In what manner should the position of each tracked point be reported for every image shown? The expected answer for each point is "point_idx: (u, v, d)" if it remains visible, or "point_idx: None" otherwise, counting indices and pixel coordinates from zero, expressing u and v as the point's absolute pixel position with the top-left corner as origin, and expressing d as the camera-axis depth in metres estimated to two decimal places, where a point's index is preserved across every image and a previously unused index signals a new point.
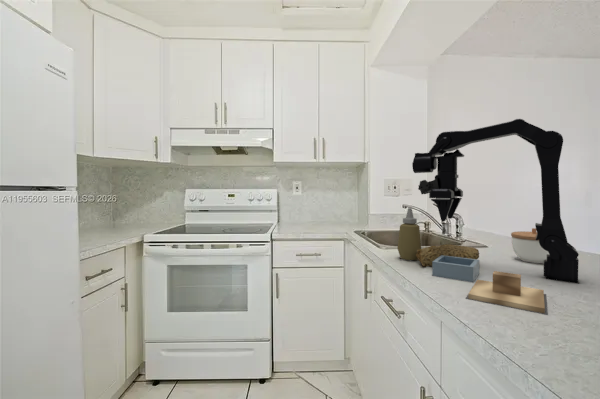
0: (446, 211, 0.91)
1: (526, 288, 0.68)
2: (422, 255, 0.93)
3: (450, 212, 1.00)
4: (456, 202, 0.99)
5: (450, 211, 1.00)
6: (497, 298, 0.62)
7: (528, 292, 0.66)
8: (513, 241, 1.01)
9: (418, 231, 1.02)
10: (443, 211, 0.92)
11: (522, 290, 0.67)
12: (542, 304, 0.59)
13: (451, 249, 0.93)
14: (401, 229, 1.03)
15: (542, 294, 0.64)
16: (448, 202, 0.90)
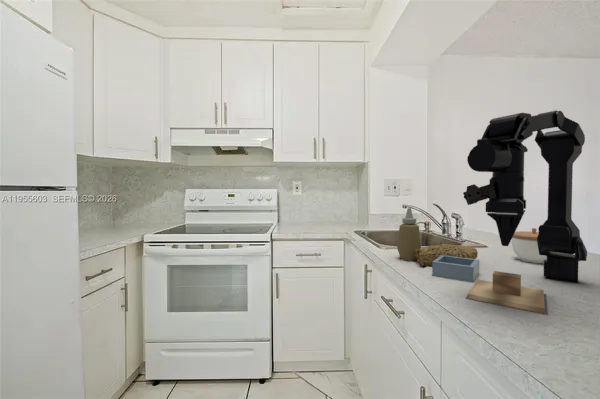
0: (511, 232, 0.61)
1: (526, 288, 0.68)
2: (421, 255, 0.93)
3: None
4: None
5: None
6: (497, 298, 0.62)
7: (528, 292, 0.66)
8: (513, 241, 1.01)
9: (418, 231, 1.02)
10: (506, 232, 0.61)
11: (522, 290, 0.67)
12: (542, 304, 0.59)
13: (450, 249, 0.94)
14: (401, 229, 1.03)
15: (542, 294, 0.64)
16: (515, 219, 0.59)
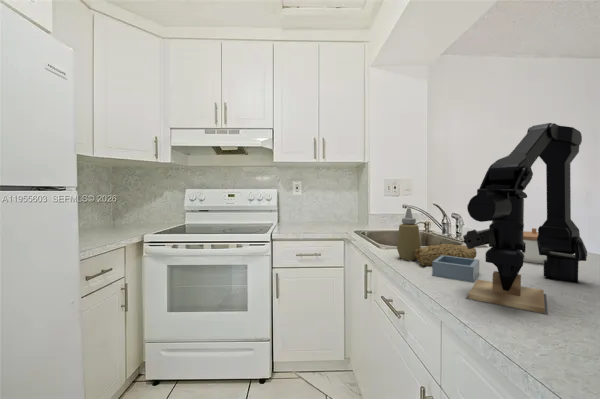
0: (512, 278, 0.63)
1: (526, 288, 0.68)
2: (421, 255, 0.93)
3: None
4: None
5: None
6: (497, 298, 0.62)
7: (528, 292, 0.66)
8: None
9: (417, 231, 1.02)
10: (507, 277, 0.64)
11: (522, 290, 0.67)
12: (542, 304, 0.59)
13: (450, 248, 0.94)
14: (400, 229, 1.03)
15: (542, 294, 0.64)
16: (516, 266, 0.62)
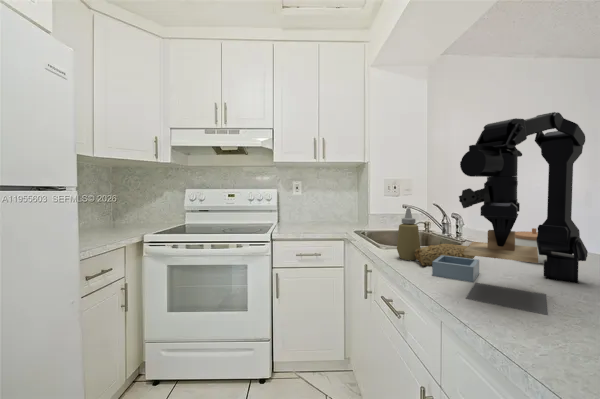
0: (506, 233, 0.65)
1: (520, 246, 0.70)
2: (422, 255, 0.93)
3: None
4: None
5: None
6: (492, 252, 0.64)
7: (522, 248, 0.67)
8: None
9: (417, 231, 1.02)
10: (501, 233, 0.65)
11: (516, 247, 0.68)
12: (536, 255, 0.60)
13: (449, 248, 0.94)
14: (400, 229, 1.04)
15: (536, 249, 0.66)
16: (510, 221, 0.63)
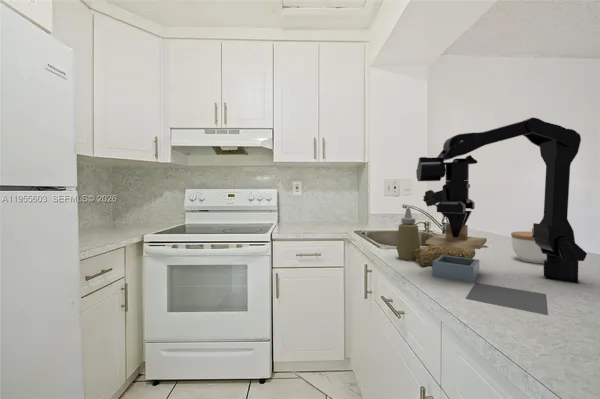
0: (459, 226, 0.80)
1: (473, 237, 0.85)
2: (422, 254, 0.94)
3: None
4: (465, 216, 0.83)
5: None
6: (446, 241, 0.79)
7: (473, 239, 0.82)
8: (513, 241, 1.01)
9: (417, 231, 1.02)
10: (455, 226, 0.80)
11: (469, 238, 0.84)
12: (479, 243, 0.76)
13: (449, 248, 0.94)
14: (400, 229, 1.04)
15: (483, 239, 0.81)
16: (461, 216, 0.79)
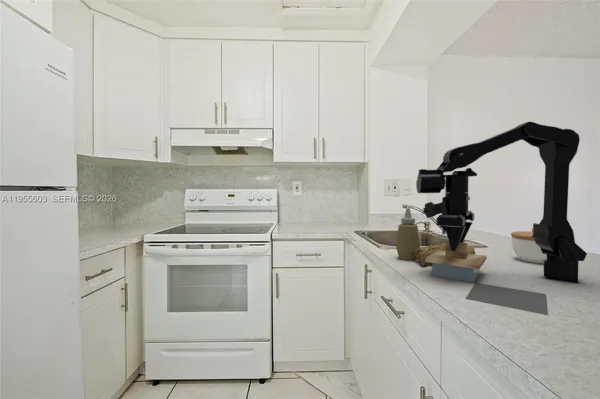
0: (457, 240, 0.79)
1: (473, 254, 0.85)
2: (422, 254, 0.94)
3: None
4: (466, 227, 0.85)
5: None
6: (446, 260, 0.79)
7: (473, 257, 0.83)
8: (513, 241, 1.01)
9: (417, 231, 1.02)
10: (453, 239, 0.79)
11: (469, 256, 0.84)
12: (479, 263, 0.76)
13: None
14: (400, 229, 1.04)
15: (483, 258, 0.81)
16: (459, 230, 0.77)
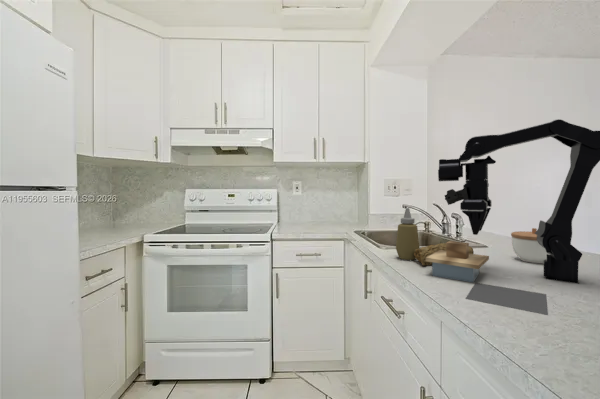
0: (479, 224, 0.83)
1: (475, 255, 0.85)
2: (422, 254, 0.94)
3: None
4: (485, 213, 0.91)
5: None
6: (446, 260, 0.80)
7: (474, 257, 0.82)
8: (513, 241, 1.01)
9: (416, 231, 1.03)
10: (475, 224, 0.83)
11: (471, 256, 0.84)
12: (479, 263, 0.76)
13: None
14: (399, 229, 1.04)
15: (485, 258, 0.81)
16: (482, 214, 0.81)
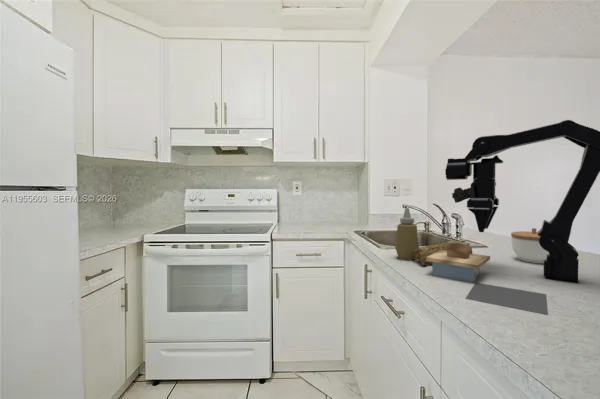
0: (485, 222, 0.85)
1: (477, 255, 0.85)
2: (422, 254, 0.94)
3: None
4: (492, 211, 0.92)
5: None
6: (446, 259, 0.80)
7: (475, 257, 0.83)
8: (513, 241, 1.01)
9: (416, 231, 1.03)
10: (481, 221, 0.85)
11: (472, 256, 0.84)
12: (478, 263, 0.76)
13: None
14: (399, 229, 1.04)
15: (486, 258, 0.81)
16: (488, 212, 0.83)
